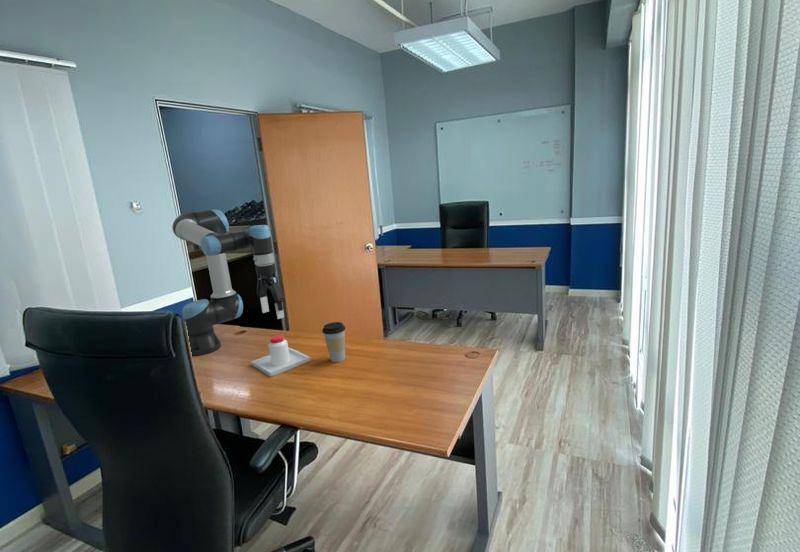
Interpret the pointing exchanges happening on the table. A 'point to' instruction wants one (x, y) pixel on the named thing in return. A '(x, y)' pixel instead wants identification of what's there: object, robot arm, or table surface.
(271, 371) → the tray
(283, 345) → the pill bottle
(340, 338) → the coffee cup
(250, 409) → the table surface
